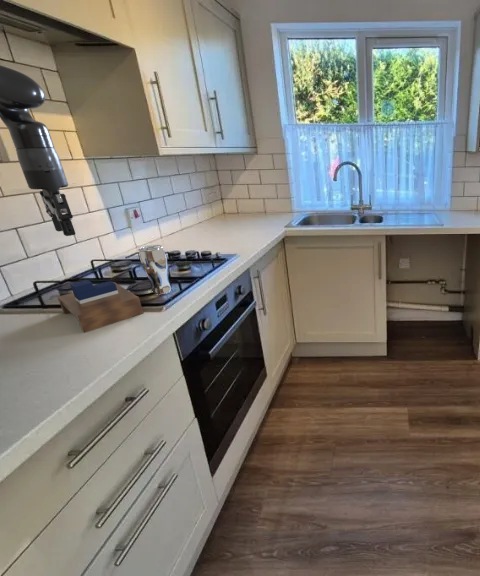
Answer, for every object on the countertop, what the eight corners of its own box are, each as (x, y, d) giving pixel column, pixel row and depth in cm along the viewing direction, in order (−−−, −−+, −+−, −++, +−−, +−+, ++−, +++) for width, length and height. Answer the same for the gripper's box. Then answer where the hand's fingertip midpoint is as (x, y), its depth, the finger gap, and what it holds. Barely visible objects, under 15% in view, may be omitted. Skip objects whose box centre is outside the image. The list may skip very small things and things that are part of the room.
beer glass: (148, 292, 117) (135, 247, 112) (171, 286, 122) (160, 243, 116) (153, 298, 113) (139, 252, 107) (177, 292, 117) (165, 247, 111)
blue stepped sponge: (80, 304, 98) (73, 287, 96) (76, 300, 100) (69, 283, 98) (118, 293, 104) (113, 277, 102) (113, 290, 106) (108, 274, 104)
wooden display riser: (84, 332, 93) (77, 315, 91) (63, 312, 105) (57, 296, 103) (143, 313, 103) (138, 297, 101) (119, 296, 115) (114, 281, 113)
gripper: (16, 168, 90) (41, 232, 96) (27, 170, 81) (54, 240, 87) (55, 166, 95) (76, 227, 101) (69, 167, 87) (91, 234, 93)
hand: (65, 233), depth 94 cm, fingers open, 8 cm apart
